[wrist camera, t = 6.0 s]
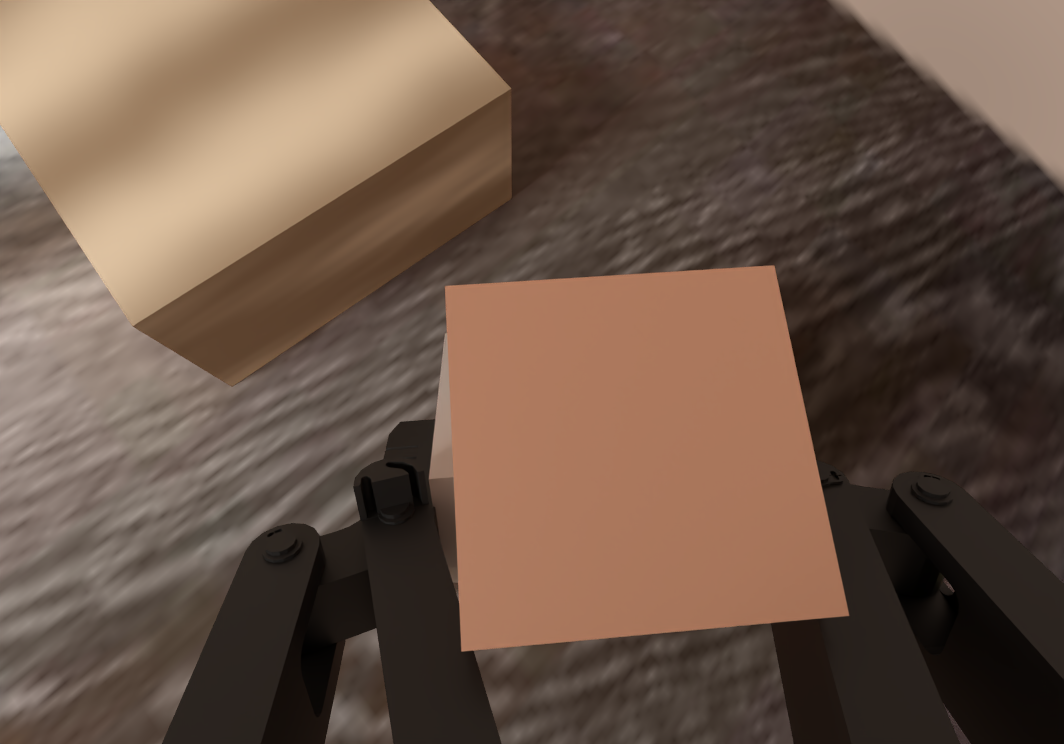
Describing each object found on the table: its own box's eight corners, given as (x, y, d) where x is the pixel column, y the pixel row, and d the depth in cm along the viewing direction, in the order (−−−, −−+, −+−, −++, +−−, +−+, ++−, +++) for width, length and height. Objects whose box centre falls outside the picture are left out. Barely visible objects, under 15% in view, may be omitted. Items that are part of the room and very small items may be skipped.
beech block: (72, 150, 24) (-68, 20, 18) (337, 4, 26) (288, -152, 20) (235, 388, 21) (132, 326, 15) (511, 202, 24) (511, 88, 18)
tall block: (493, 596, 19) (461, 651, 8) (483, 438, 21) (445, 285, 9) (651, 582, 19) (849, 615, 8) (631, 427, 21) (774, 265, 9)
